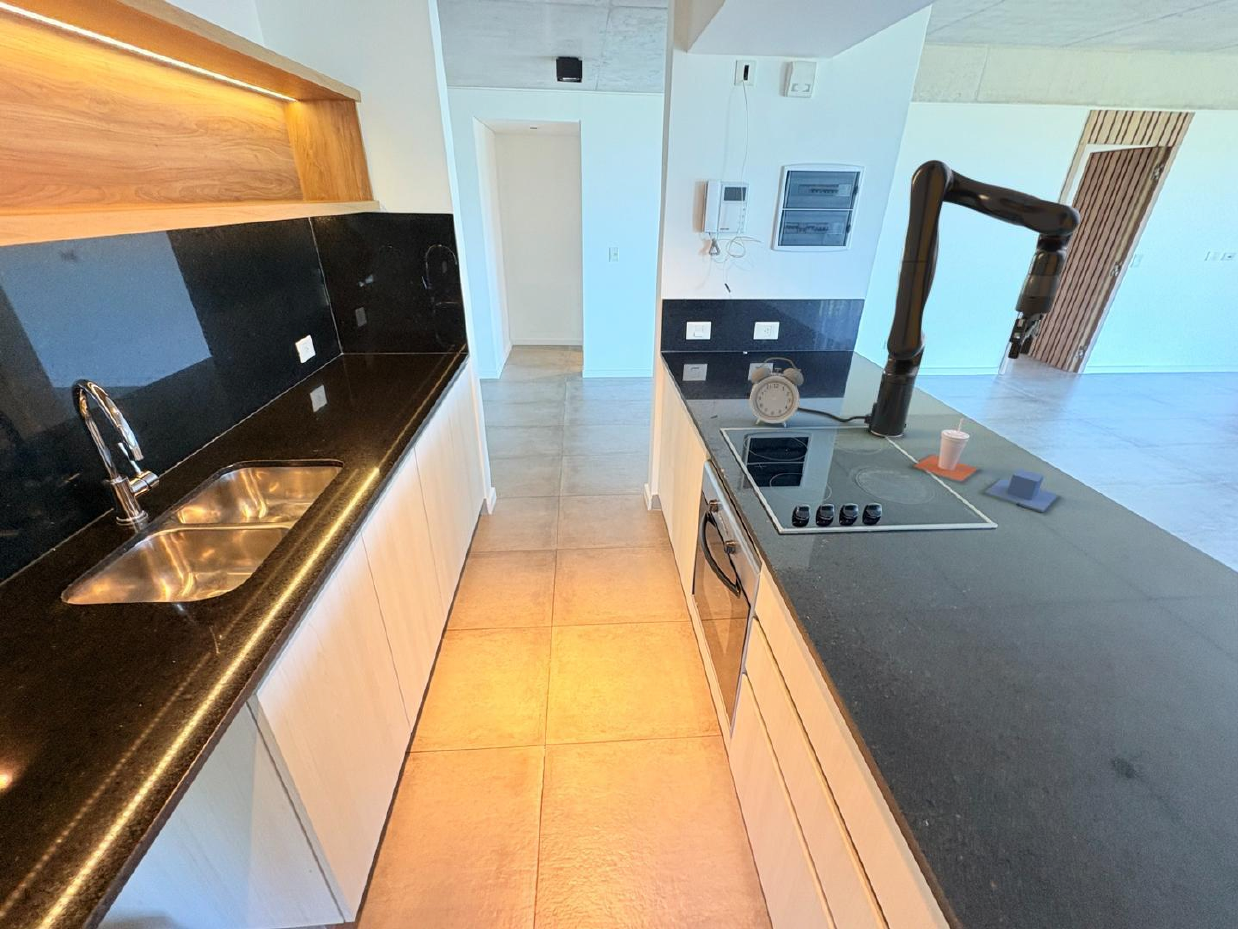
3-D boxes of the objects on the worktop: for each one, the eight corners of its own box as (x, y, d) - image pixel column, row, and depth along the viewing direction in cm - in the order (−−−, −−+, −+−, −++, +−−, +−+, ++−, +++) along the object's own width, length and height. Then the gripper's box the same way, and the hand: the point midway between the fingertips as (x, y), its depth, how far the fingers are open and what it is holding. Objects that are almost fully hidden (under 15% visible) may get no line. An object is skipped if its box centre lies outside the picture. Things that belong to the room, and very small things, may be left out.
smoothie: (963, 473, 139) (978, 423, 133) (937, 471, 140) (951, 421, 134) (954, 463, 145) (968, 415, 139) (929, 461, 146) (942, 413, 140)
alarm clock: (745, 425, 174) (752, 359, 165) (746, 416, 182) (753, 353, 172) (797, 429, 170) (807, 362, 161) (796, 421, 178) (806, 356, 168)
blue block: (1006, 492, 129) (1012, 474, 127) (1013, 487, 132) (1019, 468, 130) (1030, 500, 125) (1037, 481, 123) (1037, 494, 128) (1044, 475, 126)
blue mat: (983, 494, 130) (984, 491, 129) (1001, 480, 137) (1001, 478, 136) (1042, 512, 121) (1043, 510, 121) (1057, 497, 128) (1058, 494, 128)
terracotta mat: (912, 468, 144) (913, 466, 143) (931, 456, 150) (932, 454, 150) (960, 483, 135) (961, 481, 135) (978, 470, 142) (979, 468, 142)
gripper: (1029, 289, 142) (1010, 349, 148) (1011, 293, 133) (992, 357, 140) (1063, 292, 136) (1043, 354, 143) (1047, 296, 128) (1025, 362, 135)
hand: (1018, 355), depth 142 cm, fingers open, 8 cm apart
